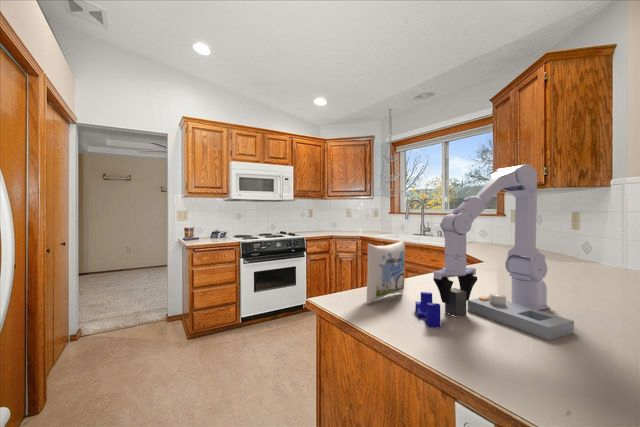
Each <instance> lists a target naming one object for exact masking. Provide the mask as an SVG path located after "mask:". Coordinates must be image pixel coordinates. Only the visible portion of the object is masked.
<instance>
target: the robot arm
mask: <svg viewBox="0 0 640 427" xmlns="http://www.w3.org/2000/svg"><path fill="white" fill-rule="evenodd" d="M501 190H503V191H506V192H507V193H510V194H511V195H512V196H513V197H514V198H515V215H514V216H515V218H514V221H515V222H514V246H513V247H512V248H510V249H509V250H508V252H507V257H506V260H505V266H504V268H505V270H506V272H507V273H509V276H510V277H511V301H509V302H512V303H515V304H519V305H522V306H526V307H529V308H532V309H536V310H539V311H542V310H546V309H550V308H551V306H550V305H548V300H547V299H548V298H547V296H548V294H547V293H548V292H547V291H548V287H547V284H546V282H545V281H544V280H543V279H544V278H545V277H546V276H547V273H548V266H547V263H546V255H545V254H544V253H543V252H542V251H540V250H539V249H538V248H537V215H538V213H537V212H538V210H537V209H538V206H537V205H538V171H537V170H536V169H535V168H534V167H533V166H532V165H531V164H528V163H524V164H521V165H515V166H511V167H510V166H509V167H501V168H497V169H496V170H495V172H493V173H491V175H490V179H489V180H488V181H487V182H486V184H484V185H483V187H482V188H481V189H480V190H479V191H478V192H477V193H476V195H475V196H474V195H471V196H467V197H464V198H463V199H462V200H463V202H461V204H460V205H459V206H457V207H456V208H454V209H453V210H452V212H451V213H448V214H446V215H445V216H443V218H442V219H441V222H440V223H439V226H440V229H441V231H442V232H443V237H444V267H442V268H441V269H439V270H434V271H433V282H434V283H435V285H436V287H437V290H438V291H439V296H440V299H441V302H442V303H444V304H445V303H446V304H449V302H450V292H451V288H453V284H454V281H453V280H450V278H455V277H456V278H457V280H458V283H459V289H460V290H464V291H466V302H468V300H470V297H471V293H472V290H473V288H474V286H475V283H476V282H477V281H478V276H476V275H477V268H476V267H467V233H469V232H470V231H471V230H472V229H471V228H472V224H473V223H474V221H475V220H476V219H477V218H478V216H480V215H481V214H482V213H483V212H484V211H485V210H486V203H488V202H489V201H490V200H491V199H492V198H494V197H495V195H497V194H498V193H499V192H500V191H501Z"/></svg>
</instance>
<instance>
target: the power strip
mask: <svg viewBox="0 0 640 427" xmlns="http://www.w3.org/2000/svg"><path fill="white" fill-rule="evenodd" d="M469 310H470V312H472V313H474V312H475V313H474V314H477V313H478V315H480V314H481V315H480V316H482V315H483V316H482V317H485V316H486V317H485V318H488V319H490V320H493V319H494V320H493V321H496V322H498V323H501V322H502V323H501V324H504V325H506V326H510V327H512V328H515V329H518V330H520V331H523V332H526V333H528V334H531V335H534V336H536V337H538V338H539V337H540V338H542V339H543V340H544V339H545V340H547V341H550V340H551V341H552V340H554V339H558V338H560V337H563V336H568V335H571V334H574V333H575V321H574V319H570V318H566V317H563V316H559V315H556V314H553V313H549V312H547V311H542V310H536V309H532V308H529V307H526V306H522V305H519V304H515V303H512V302H510V301H508V300H507V296H506V295H505V294H503V293H502V294H501V293H495V292H494V293H493V292H492V293H489V296H481V297H477V298H473V299H469V300H468V301H467V311H469Z"/></svg>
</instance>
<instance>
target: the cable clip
mask: <svg viewBox="0 0 640 427" xmlns="http://www.w3.org/2000/svg"><path fill="white" fill-rule="evenodd" d="M414 305H415V310H414V311H415V313H416V315H418V316H417V318H418V319H423V320H424V321H425V323H426V326H427V327H428V328H437V327H438V329H440V328H441V304H440V303H434V302H433V293H432V292H431V291H420V301H415V304H414Z"/></svg>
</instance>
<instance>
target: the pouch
mask: <svg viewBox="0 0 640 427" xmlns="http://www.w3.org/2000/svg"><path fill="white" fill-rule="evenodd" d="M405 252H406V245H405V239H402V240H400V241H398V242H396V243H391V244H388V245H373V244H371V243H367V262H366V263H367V277H366V278H367V279H366V305H370V304H371V303H373V302H375V301H376V300H378V299H381V298H384V297H386V296H388V295H390V294H391V295H392V294H397V293H398V294H403V293H404V291H405V261H406V260H405V259H406V258H405V257H406V255H405Z"/></svg>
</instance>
